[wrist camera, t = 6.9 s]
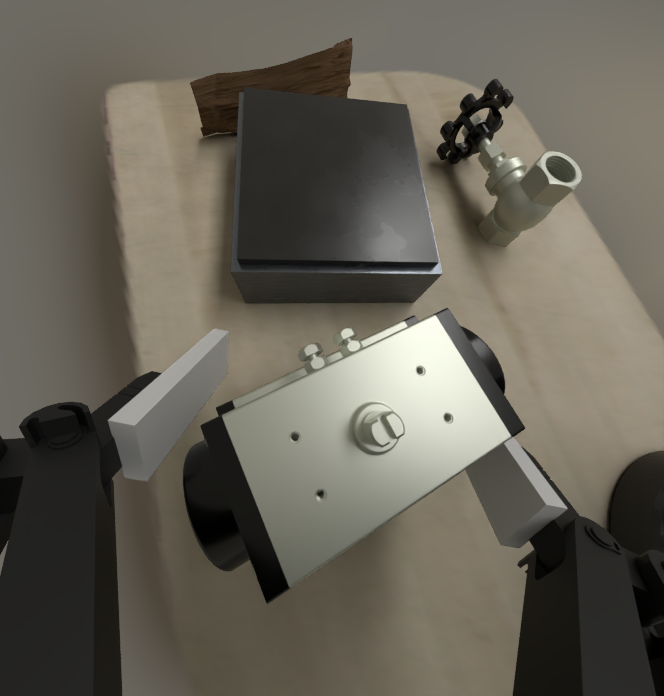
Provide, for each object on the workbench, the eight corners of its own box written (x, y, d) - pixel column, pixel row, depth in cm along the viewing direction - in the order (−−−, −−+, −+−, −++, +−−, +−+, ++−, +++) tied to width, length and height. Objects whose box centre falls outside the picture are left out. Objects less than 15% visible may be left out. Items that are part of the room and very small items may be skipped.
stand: (414, 302, 21) (447, 268, 16) (246, 303, 19) (227, 266, 15) (390, 160, 25) (411, 101, 21) (250, 150, 24) (237, 82, 19)
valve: (530, 241, 25) (474, 153, 28) (608, 182, 19) (525, 74, 21) (478, 257, 24) (423, 162, 26) (542, 198, 17) (463, 82, 20)
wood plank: (338, 98, 27) (346, 31, 22) (348, 111, 27) (358, 45, 22) (203, 138, 23) (179, 67, 19) (213, 153, 23) (191, 85, 18)
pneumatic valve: (414, 413, 19) (594, 407, 7) (268, 498, 16) (185, 700, 5) (378, 349, 20) (486, 255, 8) (236, 419, 17) (103, 422, 6)
